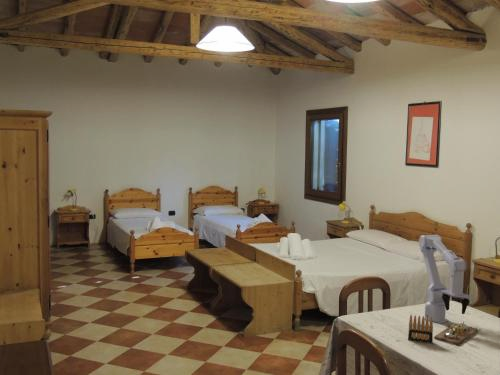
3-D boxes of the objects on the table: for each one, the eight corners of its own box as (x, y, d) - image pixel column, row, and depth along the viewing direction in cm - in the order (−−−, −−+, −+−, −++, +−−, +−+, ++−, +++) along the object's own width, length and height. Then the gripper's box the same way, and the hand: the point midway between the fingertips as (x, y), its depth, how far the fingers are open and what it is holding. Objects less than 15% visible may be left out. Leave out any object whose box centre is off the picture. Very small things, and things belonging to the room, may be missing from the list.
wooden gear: (453, 329, 244) (453, 323, 243) (465, 332, 240) (465, 326, 239) (448, 332, 239) (448, 326, 239) (460, 335, 235) (460, 329, 235)
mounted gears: (442, 336, 234) (442, 329, 234) (459, 325, 249) (459, 319, 248) (453, 340, 231) (454, 333, 230) (470, 328, 245) (470, 322, 244)
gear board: (434, 338, 235) (434, 336, 235) (455, 325, 252) (455, 323, 252) (457, 345, 227) (458, 342, 227) (477, 331, 244) (478, 328, 244)
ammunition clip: (432, 341, 231) (433, 316, 230) (432, 343, 230) (433, 317, 229) (408, 338, 235) (409, 313, 234) (407, 340, 233) (408, 314, 232)
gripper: (438, 282, 245) (437, 310, 247) (468, 289, 235) (467, 317, 237) (444, 280, 250) (443, 306, 252) (474, 286, 240) (473, 313, 242)
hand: (455, 311), depth 244 cm, fingers open, 7 cm apart
